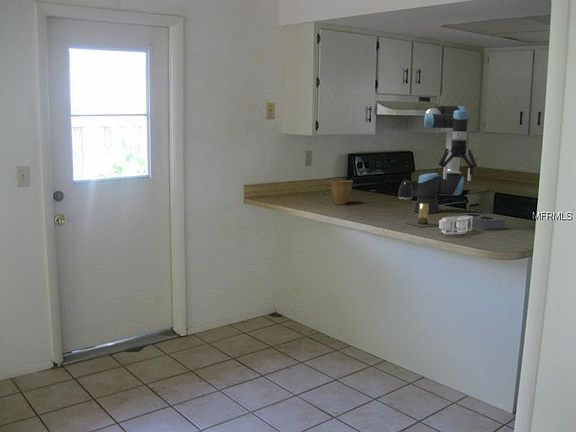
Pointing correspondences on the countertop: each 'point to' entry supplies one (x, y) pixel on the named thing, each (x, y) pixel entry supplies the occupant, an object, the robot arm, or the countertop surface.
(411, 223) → the mat
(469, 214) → the block
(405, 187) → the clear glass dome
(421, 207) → the bushing
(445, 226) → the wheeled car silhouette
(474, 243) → the countertop surface
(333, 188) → the plant pot
